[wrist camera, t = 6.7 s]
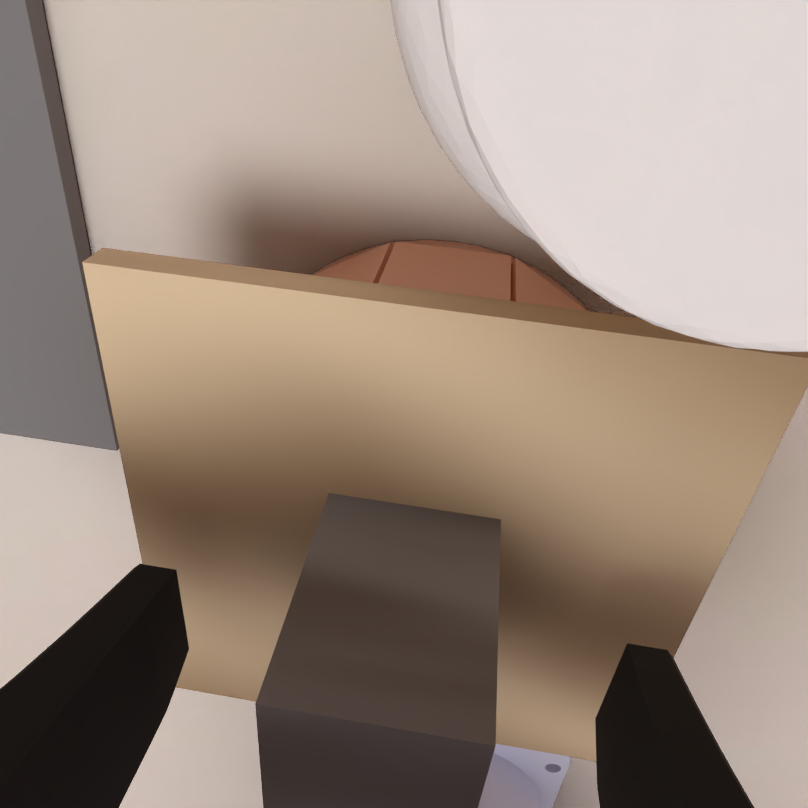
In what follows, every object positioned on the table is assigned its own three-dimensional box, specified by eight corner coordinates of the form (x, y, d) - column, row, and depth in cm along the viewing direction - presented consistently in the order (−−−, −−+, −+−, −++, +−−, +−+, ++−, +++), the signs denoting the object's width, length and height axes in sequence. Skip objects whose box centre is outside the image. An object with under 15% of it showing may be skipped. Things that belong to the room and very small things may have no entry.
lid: (616, 740, 15) (649, 993, 12) (177, 663, 16) (74, 879, 12) (804, 339, 10) (995, 586, 6) (103, 248, 10) (-138, 415, 7)
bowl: (577, 577, 18) (592, 713, 15) (258, 527, 19) (204, 647, 16) (679, 269, 13) (733, 371, 10) (239, 214, 14) (154, 293, 11)
